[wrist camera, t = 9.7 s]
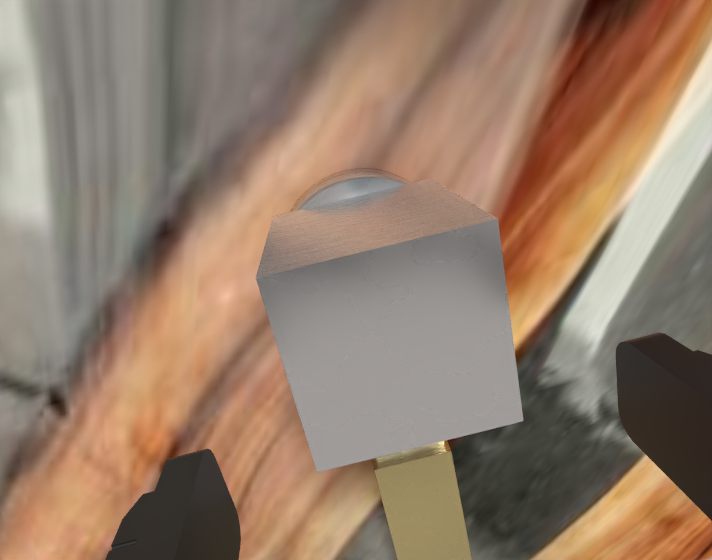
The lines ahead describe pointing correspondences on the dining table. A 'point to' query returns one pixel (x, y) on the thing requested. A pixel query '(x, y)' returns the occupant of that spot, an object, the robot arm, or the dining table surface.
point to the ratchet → (414, 466)
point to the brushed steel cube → (391, 321)
